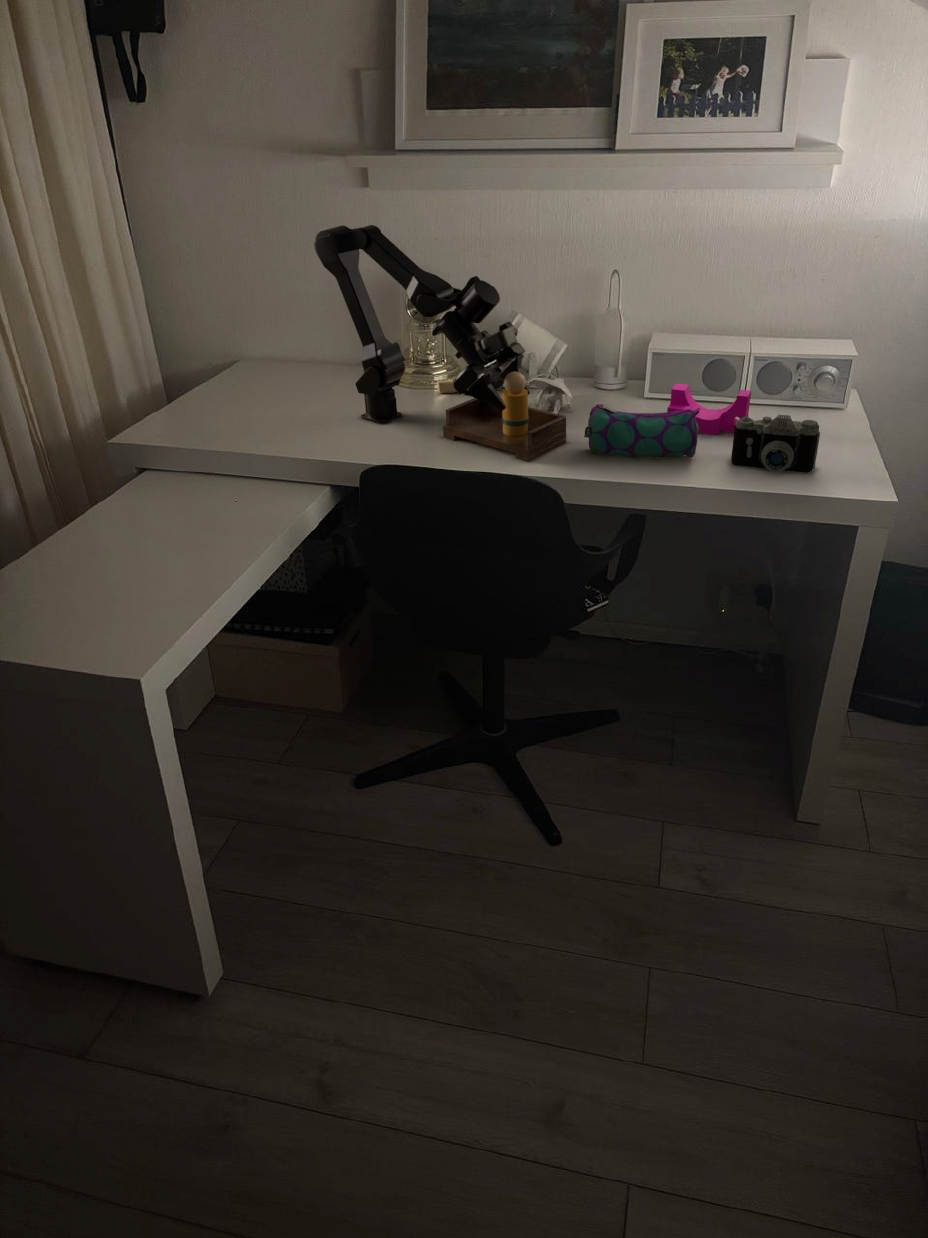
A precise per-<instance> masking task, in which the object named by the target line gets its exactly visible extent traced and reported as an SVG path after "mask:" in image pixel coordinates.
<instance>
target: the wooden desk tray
mask: <svg viewBox="0 0 928 1238" xmlns="http://www.w3.org/2000/svg"><path fill="white" fill-rule="evenodd" d="M502 416H503V414H502V411H501V410H499V409H497V408H495V407H493V406H491V405H489V404H487V403H485V402H483V401H481V400H478V399H476V398H474V397H472V398H471V399H468V400H466V401H463V402H461V403H459V404H456V405H454V406H452V407H449V408H447V409H445V424H443V425H442V433H443V434H442V435H443V438H444V439H448V440H452V441H457V440H458V439H460V438H461V439H465V440H468V441H471V442H475V443H478V444H481V445H484V446H489V447H492V448H495V449H499V450H502V451H506V452H510V453H514V454H515V455H516V458H515V459H517V460H521V461H523V462H524V461H525V462H528V463H529V462H532V461H533V460H535V459H537V458H539V457H542V456H543V455H546V453H549V452H551V451H553V450H556V449H557V448H559V447H561V446H563V445H565V444H567V418H568V416H567V415H562V414H559V413H558V414H555V413H554V412H550V411H548V410H546V411H543V410H539V409H538V408H534V407H530V406H528V416H529V422H528V433H526V434H524V435H520V436H509V435H506V434H504V433H503V423H502Z"/></svg>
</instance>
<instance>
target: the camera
mask: <svg viewBox="0 0 928 1238" xmlns="http://www.w3.org/2000/svg"><path fill="white" fill-rule="evenodd" d="M820 436H821V431H820V424H819V422H818V421H816V420H813V419H805V420H802V421H797V420H792V417H791V415H789V414H777V415H776V416H775V418H771V416H763V417H762V419H757V420H754V419H752V418H751V417H749V416H748V417H747V416H746V417H743V418H738V421H737V423H736V424H735V430H734V432H733V440H732V449H731V458H730V461H731V465H732V466H734V467H742V468H751V469H759V470H760V469H761V470H768V471H772V472H790V473H798V474H799V473H800V474H810V473H812V472H813V470H815V468H816V462H817V461H816V460H817V456H818V449H819V444H820Z"/></svg>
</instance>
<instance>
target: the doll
mask: <svg viewBox="0 0 928 1238" xmlns="http://www.w3.org/2000/svg"><path fill="white" fill-rule="evenodd" d="M526 383H527V379H526V377H525V375H524V376H523V375H522V374H521V373H519V372H511V373H509V374H508V375H507V376H506V377H505V380H504V384H503V387H504V388H505V389H504V390H502V391H501V399H502V400H503V402H504V404H505V406H506V408H505V409H504V410H503V411H502V414H503V416H502V423H503V433H504V434H506V435H509V436H520V435H524V434H526V433H528V422H529V416H528V407H529V395H528V391H527V390H526V389H524V388H525V386H526Z"/></svg>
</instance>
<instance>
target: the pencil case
mask: <svg viewBox="0 0 928 1238" xmlns="http://www.w3.org/2000/svg"><path fill="white" fill-rule="evenodd" d="M699 411H700V408H698V409H696V410H695V411H693V410H691V409H686V410H678V411H673V412H667V411H666V412H625V411H620V410H619V411H618V410H616V409H613V408H611V407H608V406H605V405H604V404H603V403H600V404H599V403H597V404H596V405H594V406H593V407H591V410H590V411H589V413H588V414H589V417H588V422H587V426H586V427H585V429H584V436H583V437H584V438H588V448H589V450H590V453H591V454H600V455H601V454H602V455H607V456H613V457H614V456H615V457H616V456H617V457H625V458H626V457H627V458H649V459H652V458H653V459H655V458H657V459H659V458H660V459H668V458H682V457H688V458H693V457H694V456H695V455H696V451H697V447H698V436H699V433H698V432H699V427H698V424H697V421H696V418H695V416H696V415H697V414H698V413H699Z"/></svg>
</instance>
